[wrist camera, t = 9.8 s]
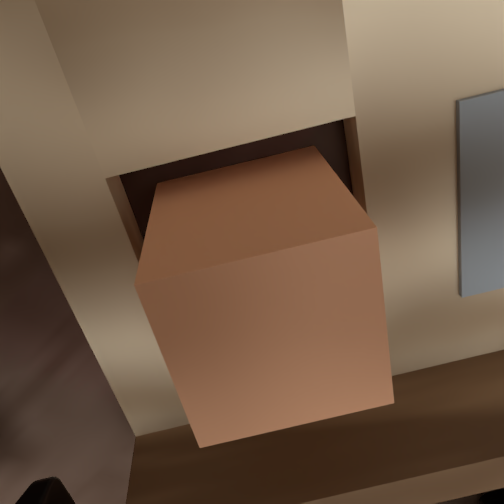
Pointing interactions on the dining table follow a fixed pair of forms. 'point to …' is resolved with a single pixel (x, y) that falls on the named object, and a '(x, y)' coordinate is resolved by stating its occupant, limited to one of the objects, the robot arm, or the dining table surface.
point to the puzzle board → (364, 191)
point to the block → (265, 296)
